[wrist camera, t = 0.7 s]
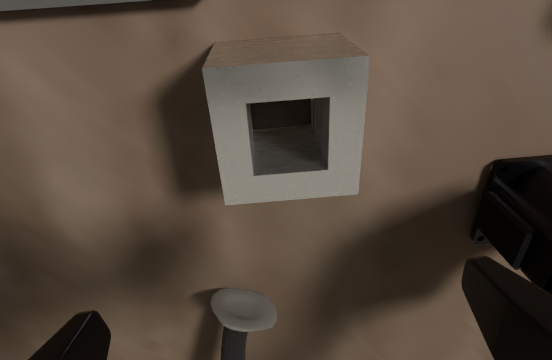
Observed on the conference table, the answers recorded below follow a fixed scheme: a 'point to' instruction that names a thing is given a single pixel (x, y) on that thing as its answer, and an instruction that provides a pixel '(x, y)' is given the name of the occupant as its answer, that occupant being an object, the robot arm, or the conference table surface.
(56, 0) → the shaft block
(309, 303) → the conference table surface
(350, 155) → the grey hollow square block
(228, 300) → the hose
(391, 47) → the conference table surface
